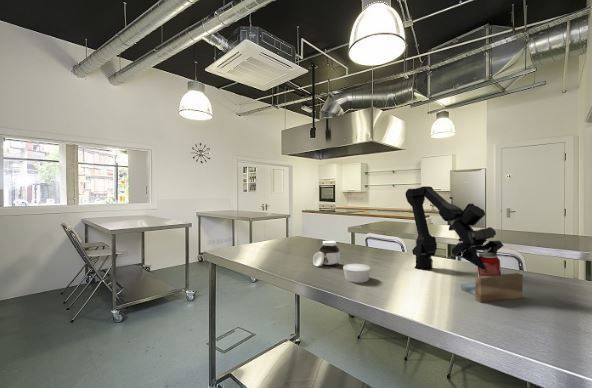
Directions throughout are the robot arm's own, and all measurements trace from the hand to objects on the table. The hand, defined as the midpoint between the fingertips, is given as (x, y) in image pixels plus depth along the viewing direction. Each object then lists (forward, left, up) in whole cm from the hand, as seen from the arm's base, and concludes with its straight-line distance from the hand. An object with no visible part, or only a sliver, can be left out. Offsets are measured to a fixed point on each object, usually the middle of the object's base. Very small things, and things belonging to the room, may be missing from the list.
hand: (491, 268), depth 97 cm
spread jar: (-67, -7, -10) cm, 68 cm away
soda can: (-1, +2, -8) cm, 8 cm away
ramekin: (-45, -16, -10) cm, 49 cm away
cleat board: (-2, +1, -10) cm, 10 cm away
